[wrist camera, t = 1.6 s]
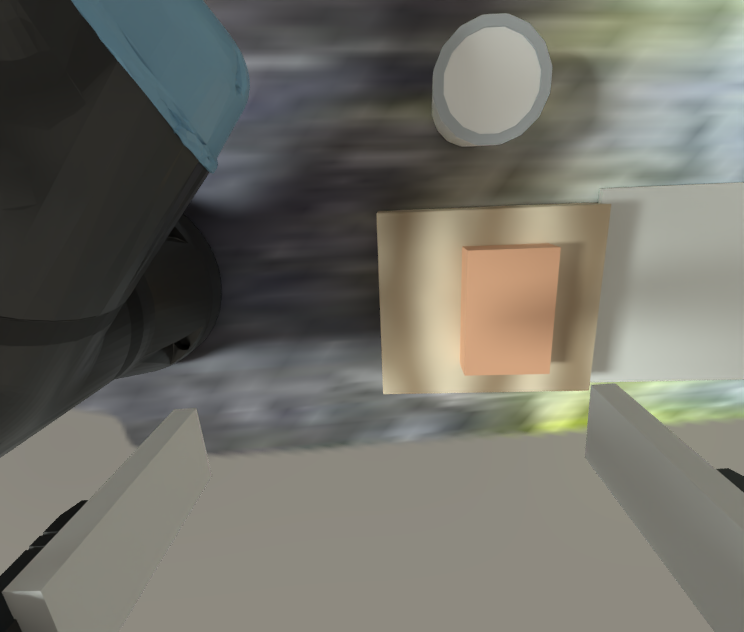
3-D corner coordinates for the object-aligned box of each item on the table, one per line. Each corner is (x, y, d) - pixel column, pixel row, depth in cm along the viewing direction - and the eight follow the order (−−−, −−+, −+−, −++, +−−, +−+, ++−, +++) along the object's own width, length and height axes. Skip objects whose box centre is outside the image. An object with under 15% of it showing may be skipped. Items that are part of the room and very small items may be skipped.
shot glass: (414, 147, 31) (420, 135, 25) (433, 44, 29) (446, 0, 22) (503, 163, 31) (534, 155, 25) (528, 62, 29) (569, 23, 23)
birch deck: (383, 372, 37) (383, 394, 33) (378, 211, 33) (376, 213, 29) (567, 369, 36) (588, 390, 32) (584, 202, 32) (611, 203, 28)
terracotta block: (459, 363, 32) (464, 375, 30) (462, 246, 29) (467, 250, 27) (538, 361, 31) (549, 373, 29) (548, 243, 29) (560, 247, 27)
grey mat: (578, 379, 36) (581, 382, 35) (599, 188, 31) (603, 188, 31) (745, 376, 35) (751, 379, 35) (792, 180, 31) (799, 179, 30)
